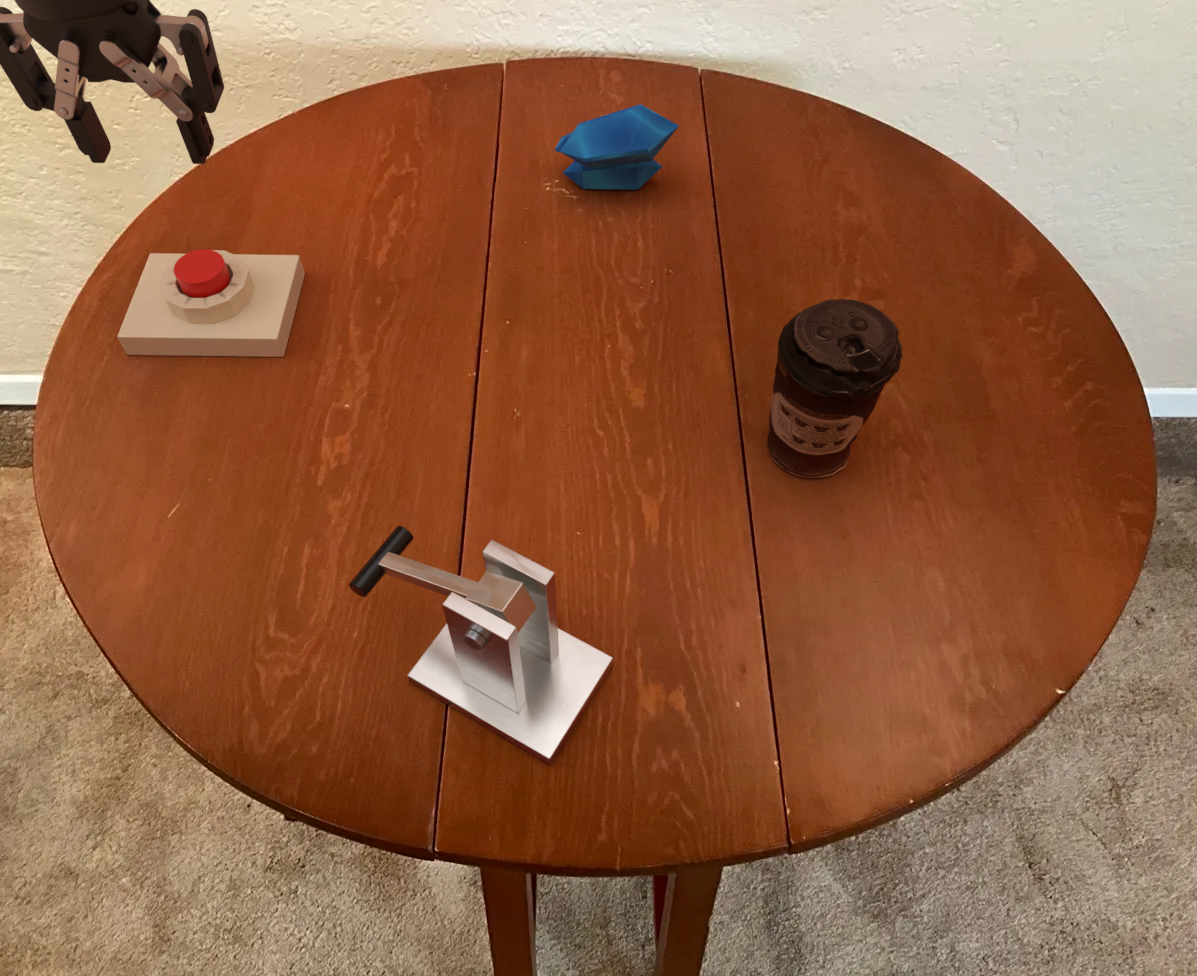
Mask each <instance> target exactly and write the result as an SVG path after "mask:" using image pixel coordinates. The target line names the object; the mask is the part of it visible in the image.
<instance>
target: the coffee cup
mask: <svg viewBox="0 0 1197 976" xmlns="http://www.w3.org/2000/svg"><path fill="white" fill-rule="evenodd" d="M899 333H900V330H899V328H898V326H897V325H896V324H895V322H894V321H892V319H891V318H889V316H887V315H886V314H885V313H884V312H883V311H882V310H880V309H878V308H877V307H876V306H873V305H872V304H869V303H866V302H863V301H859V300H855V299H844V298H840V299H837V298H836V299H827V300H824V301H821V302H819V303H816V304H813V305H811V306H809V307H807V308H804V309H803V310H801V311H800V312H798V313H797V314H795V315H794V317H792V318H791V319H790V320H789V321H788V322H787V323H786V324H785V325H784V326H783V327H782V329H781V331H780V335H779V337H778V340H777V357H776V364H775V369H774V379H773V383H772V384H773V385H772V397H771V405H770V409H769V417H768V427H769V428H768V434H767V440H766V444H767V448H768V451H769V454H770V457H771V459H772V460H773V461H774V462H775V464H777V466H778V467H780V468H781V469H783V470H784V471H786V472H788V473H789V474H792V475H793V476H797V477H801V478H807V479H820V478H826V477H831V476H833V475H835V474H836V473H838V472H839V471H841V470H844V469H845V468H846V466H847V463H848V460H849V457H850V455H851V446H852V445H853V443H854V441H855V440H857V437H858V434H859V431H861V428H862V426H864V425H865V424H866V423H867V422H868V420H869V418H870V416H871V415H872V413H873V411H874V410H875V407H876V405H877V403H878V401H879V398H880V396H881V393H882V391H883V389H884V388H885V386H886V384H888V383H889V382H890V381H891V380H892V378H893V377H894V376H895V374H896V373H899V370H900V368H901V367H900V365H901V361H902V358H903V345H902V343H901V341H900V338H899Z"/></svg>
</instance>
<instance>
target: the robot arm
mask: <svg viewBox="0 0 1197 976" xmlns="http://www.w3.org/2000/svg"><path fill="white" fill-rule="evenodd" d="M14 3H15V4H16V5H17V7H18V8H19V9H20V10H21V11H22V12H18V13H14V12H13V11H12V10H11V9H9V8H7V7H5V6H0V67H1V68H2V70H3V71H4V73H5V75H6V76H7V78H8V80H9V81H10V83H11V85H12V86H13V88H14V90H15V92H17V94H18V96H19V98H20V99H21V101H22V103H23V104H24V105H25V106H26V107H27V108H28V109H29V110H30V111H33V112H40V111H42V110H43V109H45V110H49V111H52V112H55V114H56V116H57V117H59V118H61V119H62V120H64V123H65V124H66V126H67V129H68V131H69V132H70V135H71V136H72V139H73V141H74V142H75V144H76V146H77V148H78V150H79V151H80V152H81V153H82V154H83V155H84V156H88V158H89V159H90V161H91V162H92V163H93V164H105V163H106V161H107V159H108V157H109V154H110V153H111V149H112V146H111V142H110V139H109V137H108V134H107V133H106V130H105V129H104V127H103V125H102V122H101V121H100V118H99V116H98V113H97V111H96V110H95V107H94V105H93V103H92V101H87V100H85V99H84V96H85V92H86V87H87V82H88V83H103V82H107V81H110V80H111V81H116V82H120V83H123V84H124V83H125V84H126V83H128V84H136V85H137V86H138V87H139V88H140V89H141V90H142V91H143V92H144V93H145V94H146V95H147V96H148V97H150V98H151V99H154V100H155V99H157V100H159V101H160V102H161V103H162V104H163V105H164V106H165V107H166V108H167V109H168V110H169V111H170V112H171V113H173V115H174V116H175V117H177V118H176V121H175V123H176V125H177V128H178V130H179V133H180V136H181V138H182V140H183V143H184V146H185V148H186V151H187V153H188V156H189V158H190V161H191V163H192V164H193V165H205V163H206V162H207V159H208V157H210V155H211V153H212V150H213V147H214V144H215V137H214V134H213V132H212V129H211V126H210V124H209V120H208V118H207V115H206V114H213V113H216V110H217V108H218V105H219V103H220V100H221V98H222V95H223V93H224V90H225V84H224V81H223V80H224V79H223V75H222V71H221V68H220V64H219V60H218V56H217V51H216V48H215V44H214V40H213V36H212V32H211V28H210V24H209V20H208V16H207V15H206V13H204V12H203V11H202V10H200V9H197V8H193V9H190V10H189V11H188V13H187V15H186V16H179V15H178V16H177V15H169V14H168V15H166V14H162V13H161V11H160V10H159V9H158V8H157V7H156V6H155V5H154V4H153V3H152V1H151V0H14ZM163 37H164V38H166V39H167V40H169V41H170V42H171V44H172V45H173V48H174V49H175V52H176V54H177V55H178V56H181V57H182V56H183V57H184V61H185V65H186V68H187V72H188V74H189V78H188V77H187V75H186V74H184V73H183V71H182V70H181V69H180V64H179V63H178V60H177V59H176V58H175V57H174V56H173V55H172V54H171V53H170V52H169V51H168V50H167V49H166V47H164V46H163V45H162V44H161V43H160V40H161V38H163ZM33 40H34V41H35V42H36V43H37V44H38V45H40V46H41V47H42V48H43V49H44V50H46V51H47V52H48V53H50V54H51V55H52V56H53V57H54V58H56V59H57V66H56V74H55V75H56V76H55V81H53V79H52V77H51V75H50V74H49V71H48V70H47V68H46V67H45V65H44V64H43V62H42V60H41V58H40V57H39V55H38V53H37V51H36V49H35V48H34V46H33V44H32V42H33ZM151 63H152V65H153V67H154V72H153V71H152V70H151V69H150V66H151Z"/></svg>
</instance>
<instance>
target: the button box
mask: <svg viewBox="0 0 1197 976" xmlns="http://www.w3.org/2000/svg"><path fill="white" fill-rule="evenodd" d="M212 250H213V251H215V252H217V253H219V254H220V255H221V256H222V257H223V259H224V261H225V264H226V266H227V269H228V271H229V274H230V283H229V285H228V286H227V287H226V288H225V289H224V290H223V291H222V292H221V293H218V294H215V295H212V296H209V297H207V298H192V297H189V296H187V295H186V294H185V293H184V292H183V291H182V289H181V287H180V285H179V283H178V281H177V279H176V276H175V274H174V266H175V264H176V262H177V261H178V260H179V259H180V258H181V257H182V256H183V255H185V254H186V253H171V252H170V253H169V252H168V253H165V252H164V253H163V252H162V253H161V252H150V253H149V255H148V258H147V260H146V262H145V264H144V267H143V270H142V273H141V275H140V278H139V280H138V283H137V286H136V288H135V290H134V293H133V295H132V297H131V299H130V300H131V301H130V303H129V305H128V308H127V310H126V313H125V315H124V318H123V321H122V323H121V326H120V329H119V330H118V333H117V340H118V341H119V343H120V345H121V346H122V348H123V351H124V352H125V354H126V355H127V356H175V357H177V356H178V357H179V356H180V357H181V356H183V357H186V356H187V357H256V358H257V357H258V358H259V357H261V358H262V357H263V358H264V357H265V358H266V357H267V358H269V357H270V358H284V357H285V353H286V349H287V346H288V341H289V338H290V333H291V330H292V326H293V322H294V318H295V315H296V310H297V307H298V304H299V303H298V302H299V299H300V295H301V291H302V287H303V283H304V279H305V275H306V272H305V269H304V266H303V262H302V260H301V256H300V255H299V254H244V253H238V254H237V253H232V252H229V251H227V250H224V249H212Z"/></svg>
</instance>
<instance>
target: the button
mask: <svg viewBox="0 0 1197 976" xmlns="http://www.w3.org/2000/svg"><path fill="white" fill-rule="evenodd" d="M213 250H214V249H208V248H207V249H202V248H201V249H195V250H191V251H190V252H187V253H184V254H185V255H183V256H182V257H181V258H180V259H179V260H178V261H177V262H176V264H175V266H174V274H175V276H176V279H177V281H178V283H179V285H180V287H181V289H182V291H183V292H184V293H185V294H186V295H187V296H189V297H192V298H207V297H209V296H212V295H215V294H218V293H221V292H222V291H223V290H224V289H225V288H226V287H227V286H228V285H229V283H230V274H229V271H228V269H227V266H226V264H225V261H224V259H223V257H222V256H221V255H220V254H219V253H217V252H215V251H213Z"/></svg>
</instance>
